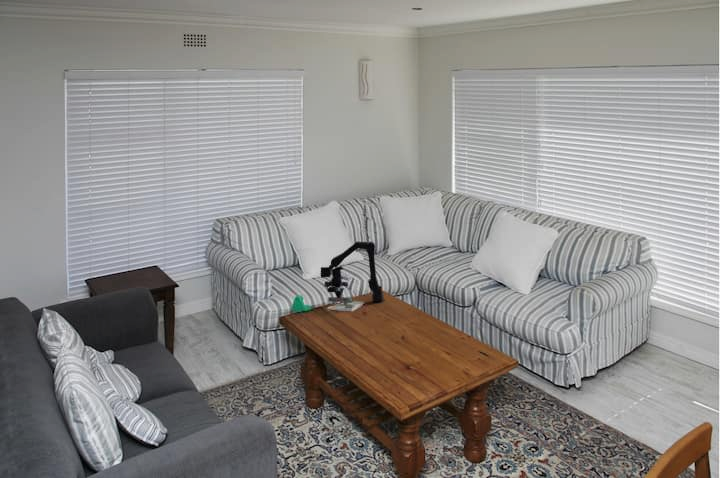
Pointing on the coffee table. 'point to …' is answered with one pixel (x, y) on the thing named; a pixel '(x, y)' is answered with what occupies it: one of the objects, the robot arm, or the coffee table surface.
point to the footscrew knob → (340, 299)
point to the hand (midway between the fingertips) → (338, 299)
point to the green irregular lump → (300, 304)
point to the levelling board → (341, 308)
